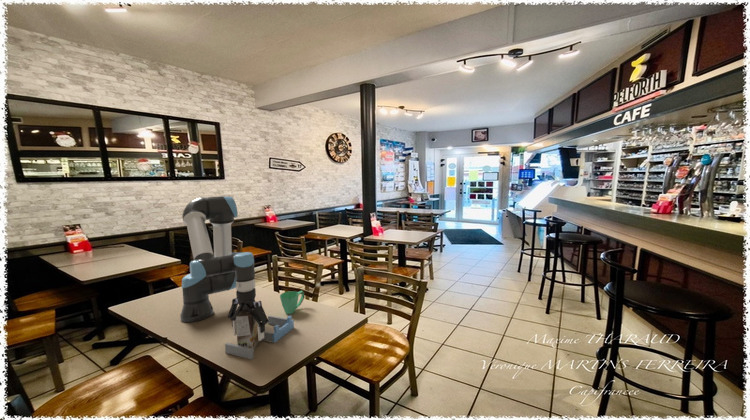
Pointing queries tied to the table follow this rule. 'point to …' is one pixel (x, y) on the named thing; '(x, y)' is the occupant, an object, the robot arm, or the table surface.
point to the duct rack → (268, 336)
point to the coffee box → (247, 330)
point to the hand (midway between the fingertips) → (248, 336)
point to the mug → (291, 301)
